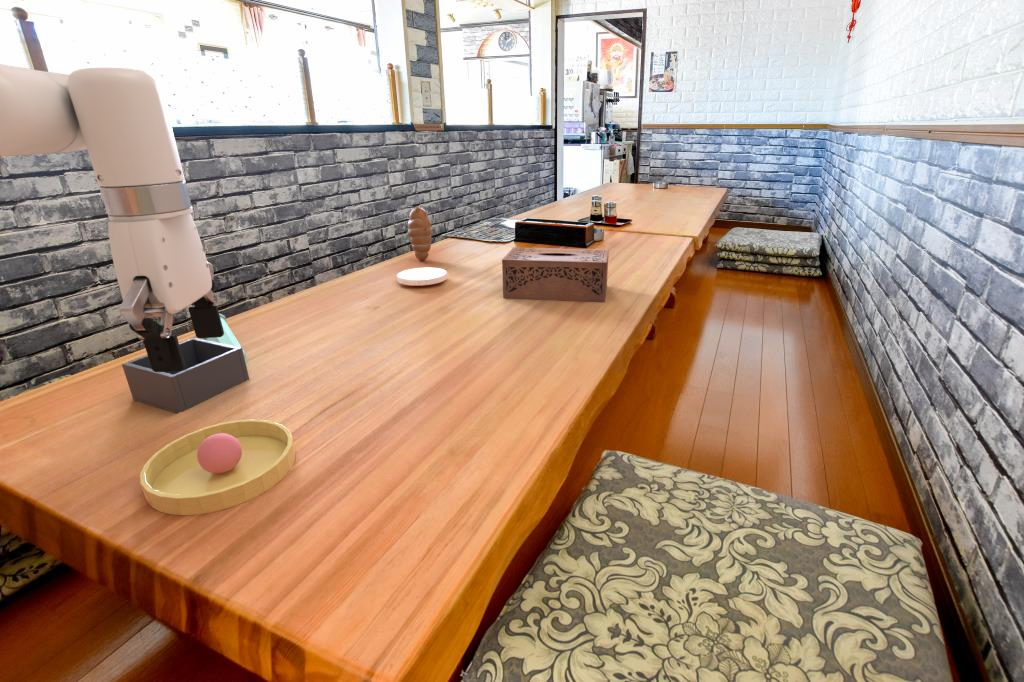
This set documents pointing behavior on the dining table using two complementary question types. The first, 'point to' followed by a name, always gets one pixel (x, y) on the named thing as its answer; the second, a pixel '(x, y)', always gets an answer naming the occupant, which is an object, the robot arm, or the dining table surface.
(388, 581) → the dining table surface
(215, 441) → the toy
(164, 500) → the tray
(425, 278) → the plastic lid
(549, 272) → the tissue box cover
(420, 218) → the croissant
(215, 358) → the bin
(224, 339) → the container
